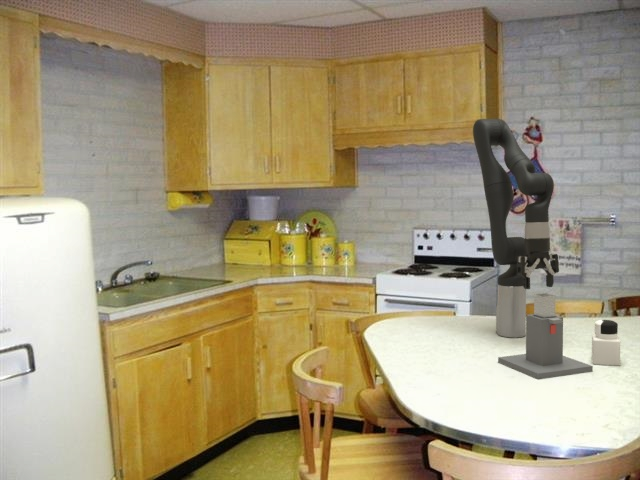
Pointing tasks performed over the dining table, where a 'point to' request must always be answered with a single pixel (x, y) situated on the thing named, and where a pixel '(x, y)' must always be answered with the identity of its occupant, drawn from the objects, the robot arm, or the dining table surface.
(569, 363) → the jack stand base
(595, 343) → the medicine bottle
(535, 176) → the robot arm
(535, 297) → the steel column
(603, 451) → the dining table surface
